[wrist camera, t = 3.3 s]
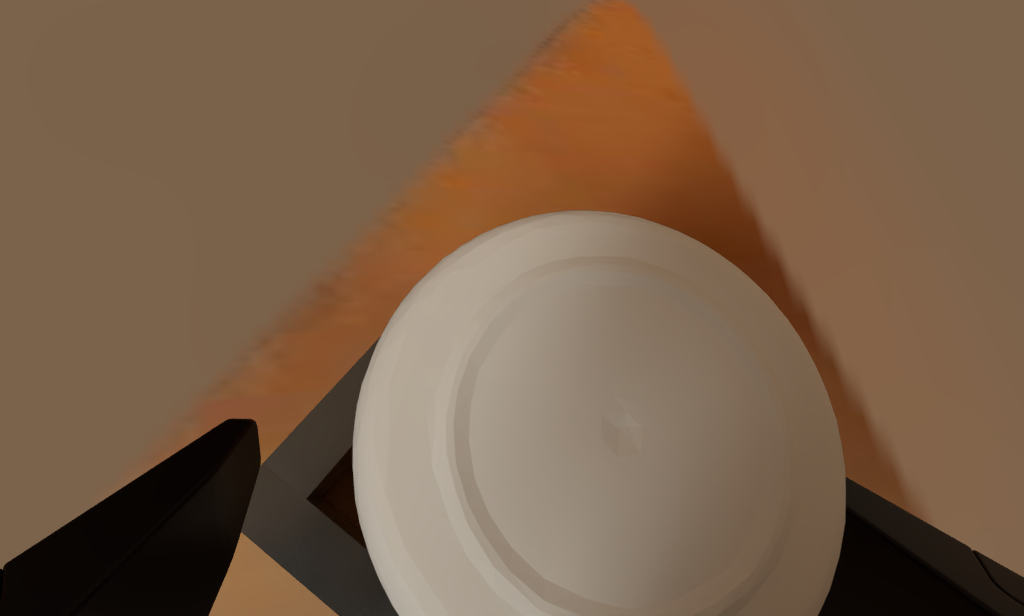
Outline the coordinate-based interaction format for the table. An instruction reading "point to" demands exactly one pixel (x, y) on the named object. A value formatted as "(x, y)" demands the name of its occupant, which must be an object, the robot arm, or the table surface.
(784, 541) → the sprinkles bottle
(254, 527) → the socket holder
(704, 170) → the table surface
